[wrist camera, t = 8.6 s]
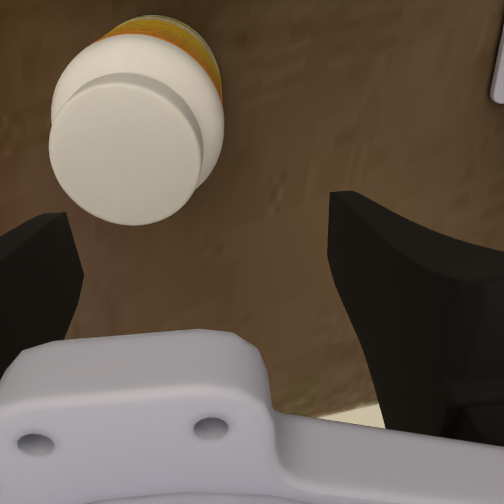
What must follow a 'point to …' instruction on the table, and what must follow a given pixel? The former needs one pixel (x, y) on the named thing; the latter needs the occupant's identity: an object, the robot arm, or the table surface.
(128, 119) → the supplement bottle
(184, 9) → the table surface
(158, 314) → the table surface
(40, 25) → the table surface
